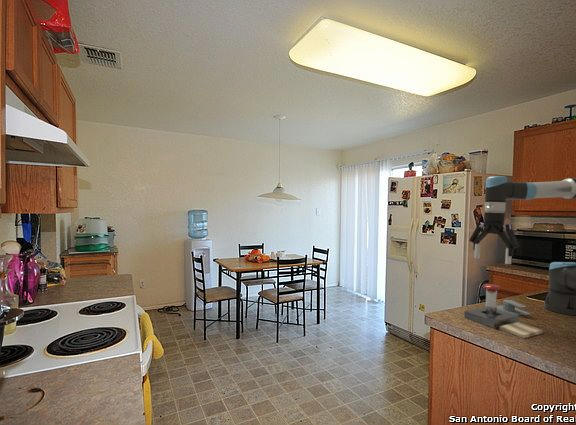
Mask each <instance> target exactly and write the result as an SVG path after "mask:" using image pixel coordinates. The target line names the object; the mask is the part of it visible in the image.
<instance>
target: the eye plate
mask: <svg viewBox="0 0 576 425" xmlns="http://www.w3.org/2000/svg"><path fill="white" fill-rule="evenodd" d="M519 317H520V316H519V315H515V314H512V313H509V312H505V311H502V310H499V309H497V316H491V315H488V314H486V306H483V307H478V308H473V309H468V310H465V311H464V318H465V319H467V320H469V321H470V320H471V321H472V322H476V323H479V324H481V325H483V326H487V327H489V328H493V329H497V328H499V327H500V326H503V325H507V324H512V323H516V322H520V320H519Z"/></svg>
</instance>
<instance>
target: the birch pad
mask: <svg viewBox="0 0 576 425" xmlns="http://www.w3.org/2000/svg"><path fill="white" fill-rule="evenodd" d="M498 328H499V330H501V331H503V332H506V333H509V334H511V335H514V336H517V337H519V338H522V339H525V338H526V339H527V338H530V337H534V336H536V335H540V334H544V330H543V329H541V328H538V327H536V326H531V325H528V324H525V323H522V322H520V321H519V322H516V323H512V324H507V325H503V326H500V327H498Z"/></svg>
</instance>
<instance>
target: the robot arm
mask: <svg viewBox="0 0 576 425" xmlns="http://www.w3.org/2000/svg"><path fill="white" fill-rule="evenodd" d="M484 190H485V191H484V193H485V194H484V195H485V196H484V211H485V212H484V214H483V220H484V222H479V221H478V222H477V223H476V227H475V229H474V231H473V233H472V234H471V236H470V238H469V242H471V243H473V248H472V249H473V251H474V253H473V254H474V256H473V257H474V259H480V258H481V243H480V242H481V241H483V239H484V238H485V237H487V235H488V234H493V235H498V236H499V238H501V240H502V241H503V243H504V244H505V246H506V248H505V258H504V260H505V261H504V264H505V265H512V257H514V255H515V249H517V248H520V244H519V242H518V239H517V236H516V234H515V233H514V231H513V224H510V223H508V224H505V220H506V213H505V212H506V205H507V204H506V202H507V201H508V200H509V201H510V200H511V201H513V200H514V201H515V200H523V201H527V200H529V201H531V200H533V199H545V198H548V199H549V198H551V199H552V198H563V199H566V200H570V199H572V200H573V199H575V200H576V177H572V178H571V177H570V178H564V179H563V180H555V181H553V180H552V181H537V182H536V181H535V182H528V181H508V177H507V176H503V175H498V176H497V175H492V176H489V177H486V182H485V189H484ZM483 228H484V229H483ZM504 230H505V231H504ZM543 307H544V309H546V310H548V311H551V312H554V313H558V314H561V315H562V314H563V315H568V316H576V262H572V261H571V262H570V261H566V262H565V261H553V262H550V264H549V269H548V293H547V295H546V297H545V299H544V302H543Z"/></svg>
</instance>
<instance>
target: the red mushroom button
mask: <svg viewBox="0 0 576 425" xmlns="http://www.w3.org/2000/svg"><path fill="white" fill-rule="evenodd" d="M483 288H484V289H485V307H486V314H488V315H491V316H497V306H498V291H500V289H501V286H500V285H498V284H491V283H484V284H483Z"/></svg>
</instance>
